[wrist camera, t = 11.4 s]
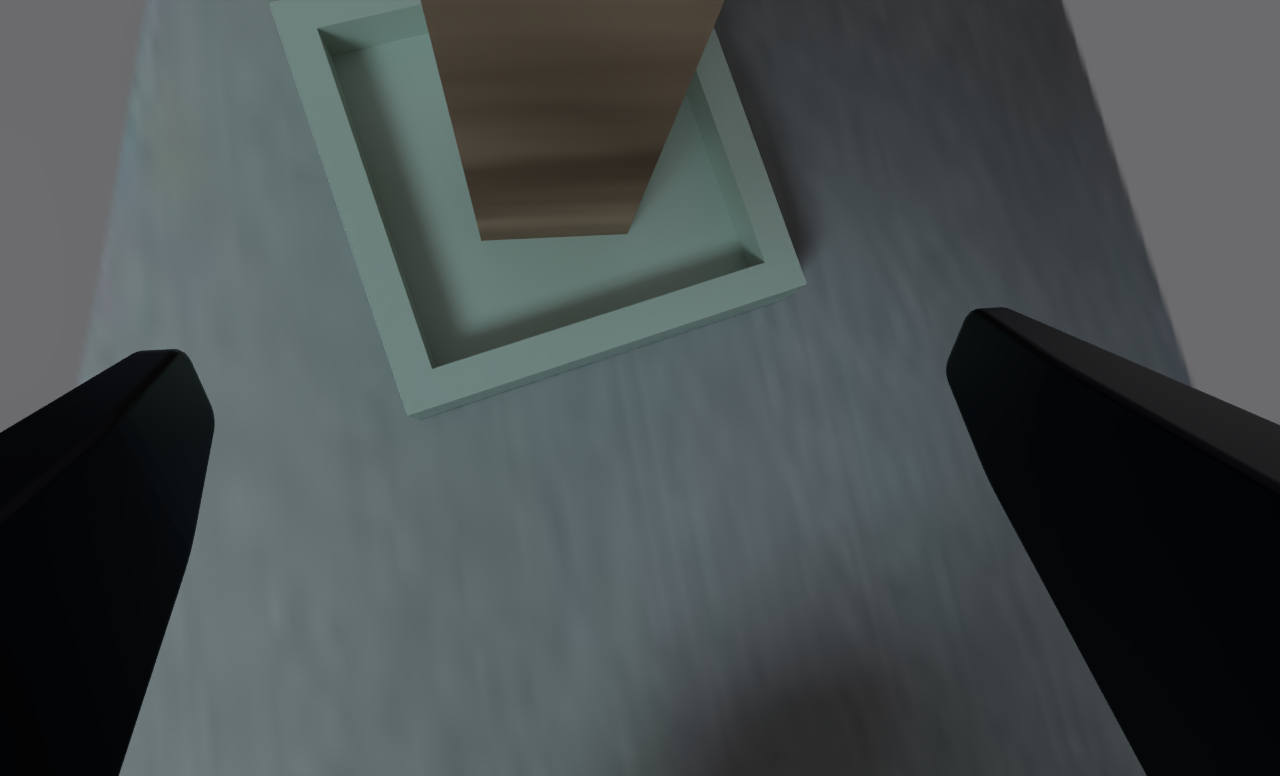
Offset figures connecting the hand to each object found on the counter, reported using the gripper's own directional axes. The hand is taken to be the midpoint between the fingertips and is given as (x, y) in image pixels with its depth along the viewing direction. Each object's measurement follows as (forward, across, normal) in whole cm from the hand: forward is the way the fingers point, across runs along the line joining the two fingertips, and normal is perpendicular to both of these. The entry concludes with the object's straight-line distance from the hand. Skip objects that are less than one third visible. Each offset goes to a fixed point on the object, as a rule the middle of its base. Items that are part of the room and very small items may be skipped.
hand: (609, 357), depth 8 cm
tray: (+15, 0, +4) cm, 16 cm away
